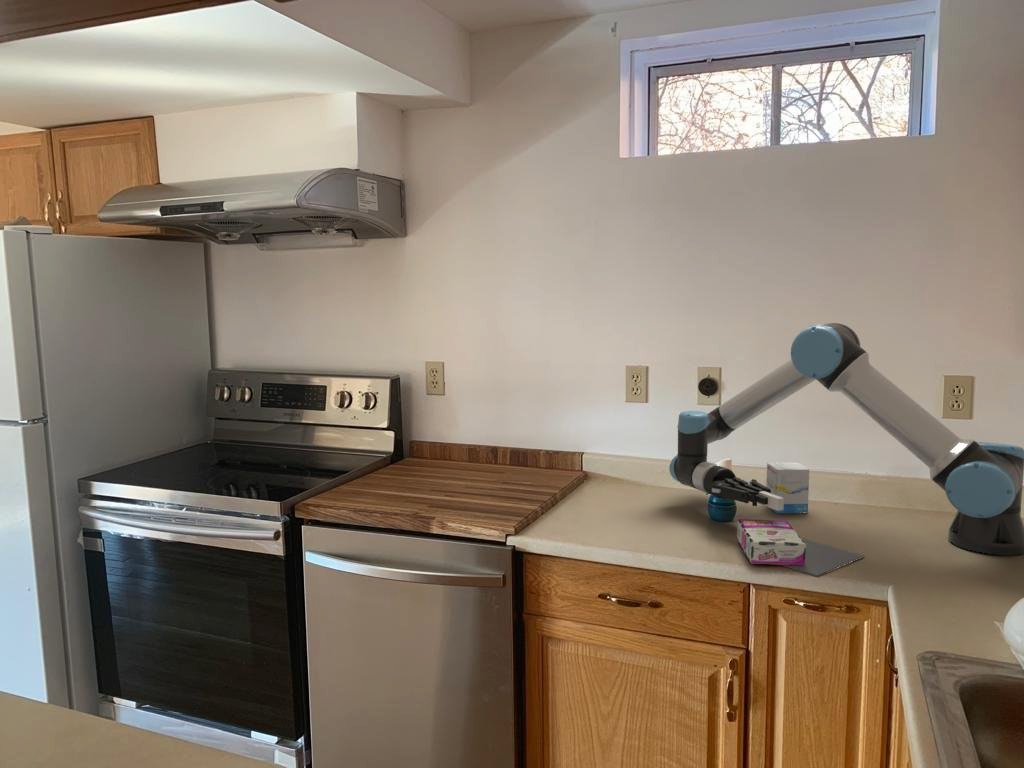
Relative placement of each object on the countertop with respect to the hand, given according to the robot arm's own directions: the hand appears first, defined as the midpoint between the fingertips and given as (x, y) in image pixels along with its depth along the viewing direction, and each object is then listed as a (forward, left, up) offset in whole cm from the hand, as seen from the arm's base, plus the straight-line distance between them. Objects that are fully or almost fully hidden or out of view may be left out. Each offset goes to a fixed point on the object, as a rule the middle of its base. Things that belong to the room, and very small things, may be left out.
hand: (780, 504), depth 170 cm
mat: (-6, 0, -10) cm, 11 cm away
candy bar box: (+5, -1, -7) cm, 9 cm away
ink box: (+17, -28, -10) cm, 34 cm away
